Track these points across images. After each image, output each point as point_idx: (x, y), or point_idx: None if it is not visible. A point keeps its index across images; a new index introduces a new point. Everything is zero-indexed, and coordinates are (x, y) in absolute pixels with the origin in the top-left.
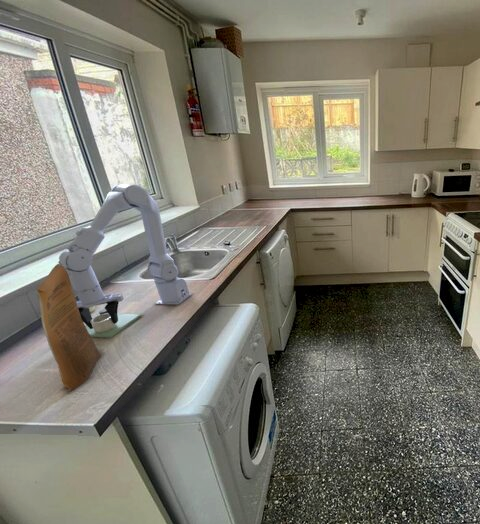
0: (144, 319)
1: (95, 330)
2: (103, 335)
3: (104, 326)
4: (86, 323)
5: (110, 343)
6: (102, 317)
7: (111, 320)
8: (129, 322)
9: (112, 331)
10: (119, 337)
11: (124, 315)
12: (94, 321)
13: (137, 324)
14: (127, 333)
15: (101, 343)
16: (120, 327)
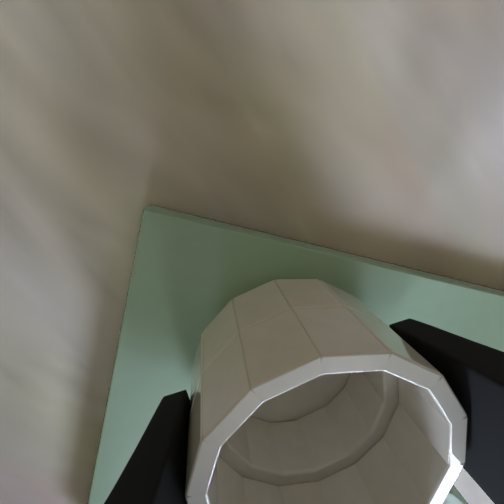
0: (11, 476)
1: (344, 294)
2: (232, 229)
3: (239, 325)
4: (491, 357)
5: (67, 78)
6: (362, 493)
7: (191, 431)
8: (103, 431)
9: (170, 288)
10: (44, 192)
11: None
12: (416, 420)
13: (20, 405)
14: (2, 259)
15: (188, 108)
16: (128, 351)
